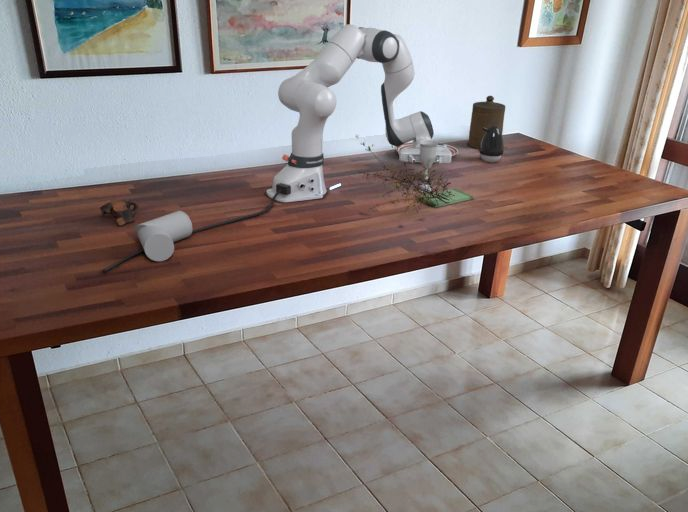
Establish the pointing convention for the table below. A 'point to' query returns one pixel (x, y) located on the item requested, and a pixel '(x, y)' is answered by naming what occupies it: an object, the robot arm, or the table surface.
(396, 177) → the dried plant
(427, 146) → the chalice
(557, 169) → the table surface
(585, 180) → the table surface
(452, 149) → the dinner plate
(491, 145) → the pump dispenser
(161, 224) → the bent grey cylinder
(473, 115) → the wooden container
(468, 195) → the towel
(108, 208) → the brown irregular block
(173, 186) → the table surface
